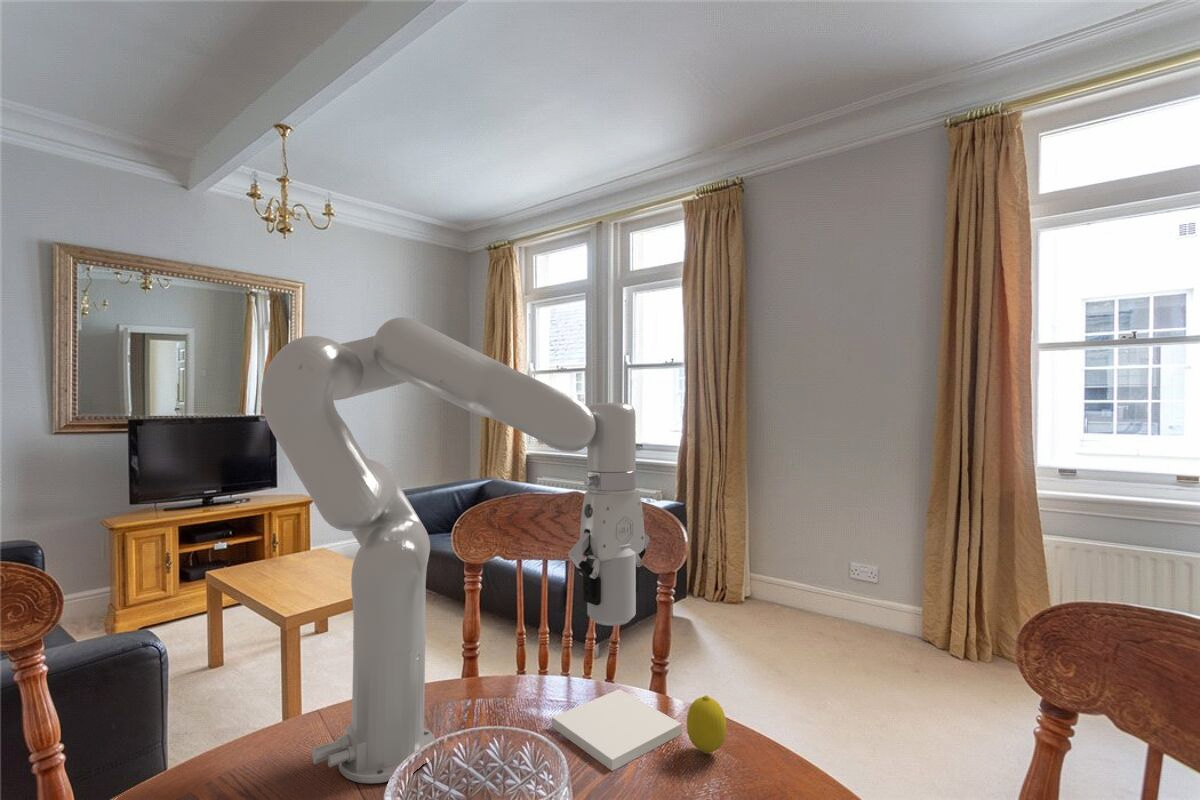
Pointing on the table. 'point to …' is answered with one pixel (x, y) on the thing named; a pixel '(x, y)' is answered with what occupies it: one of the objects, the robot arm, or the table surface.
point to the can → (616, 589)
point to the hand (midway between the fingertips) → (611, 596)
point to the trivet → (616, 728)
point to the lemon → (706, 724)
